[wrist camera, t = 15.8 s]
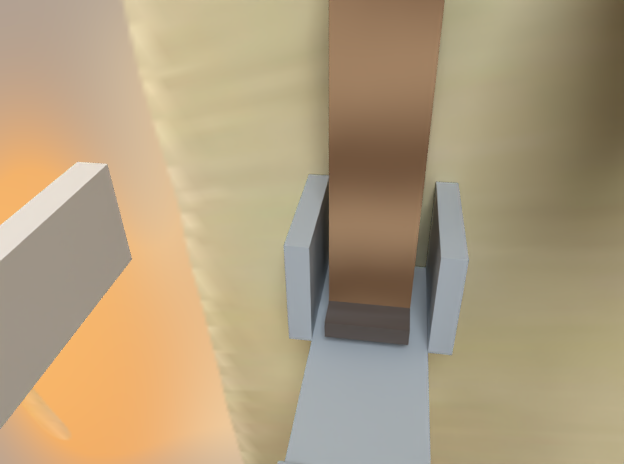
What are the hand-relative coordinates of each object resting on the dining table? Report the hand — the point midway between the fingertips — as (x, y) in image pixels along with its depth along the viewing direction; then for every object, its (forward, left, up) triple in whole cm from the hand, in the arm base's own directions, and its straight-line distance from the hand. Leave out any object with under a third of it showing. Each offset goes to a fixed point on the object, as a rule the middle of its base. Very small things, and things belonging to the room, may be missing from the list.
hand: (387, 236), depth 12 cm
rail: (+2, -1, -13) cm, 13 cm away
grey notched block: (+10, 0, -13) cm, 16 cm away
